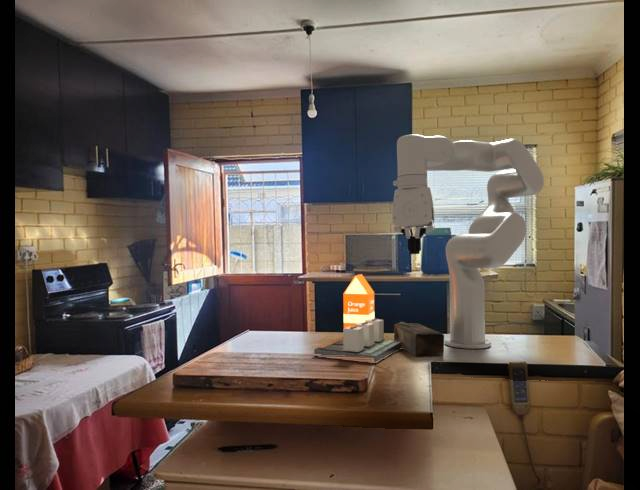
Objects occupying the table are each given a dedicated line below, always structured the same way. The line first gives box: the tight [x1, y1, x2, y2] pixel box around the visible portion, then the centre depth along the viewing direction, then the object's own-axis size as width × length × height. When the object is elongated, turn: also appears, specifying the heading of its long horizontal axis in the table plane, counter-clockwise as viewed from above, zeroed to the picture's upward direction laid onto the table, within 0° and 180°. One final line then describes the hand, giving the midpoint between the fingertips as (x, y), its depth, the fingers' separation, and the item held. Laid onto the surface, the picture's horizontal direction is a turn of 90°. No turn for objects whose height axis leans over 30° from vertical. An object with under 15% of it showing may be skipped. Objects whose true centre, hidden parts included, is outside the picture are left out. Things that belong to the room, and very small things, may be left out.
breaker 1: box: [342, 326, 364, 352], centre depth 117 cm, size 4×4×6 cm
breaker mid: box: [355, 322, 374, 347], centre depth 123 cm, size 4×4×6 cm
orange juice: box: [342, 273, 376, 328], centre depth 139 cm, size 8×9×20 cm
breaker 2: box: [365, 317, 385, 342], centre depth 129 cm, size 4×4×6 cm
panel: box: [313, 336, 403, 362], centre depth 123 cm, size 19×17×2 cm
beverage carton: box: [393, 321, 445, 358], centre depth 127 cm, size 8×19×7 cm, turn 8°
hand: (414, 253), depth 120 cm, fingers closed
